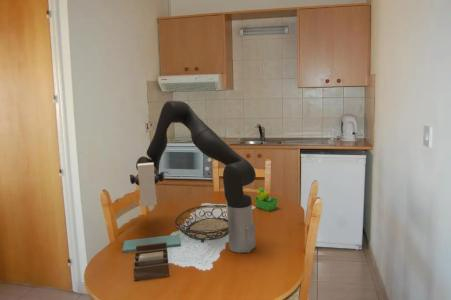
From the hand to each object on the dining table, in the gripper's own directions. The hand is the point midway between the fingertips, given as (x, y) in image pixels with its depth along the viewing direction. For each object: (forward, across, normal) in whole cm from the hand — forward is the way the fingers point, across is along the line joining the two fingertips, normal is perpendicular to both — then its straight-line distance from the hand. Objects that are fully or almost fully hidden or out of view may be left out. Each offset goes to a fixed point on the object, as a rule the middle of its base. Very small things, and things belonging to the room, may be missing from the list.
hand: (146, 182), depth 143 cm
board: (-2, 0, +27) cm, 27 cm away
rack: (+17, 0, +27) cm, 32 cm away
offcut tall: (+24, 0, +26) cm, 35 cm away
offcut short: (+15, 0, +26) cm, 30 cm away
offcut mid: (+19, 0, +26) cm, 32 cm away
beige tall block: (-2, 0, +10) cm, 10 cm away
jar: (-19, +38, +27) cm, 51 cm away
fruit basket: (-35, +57, +27) cm, 72 cm away
